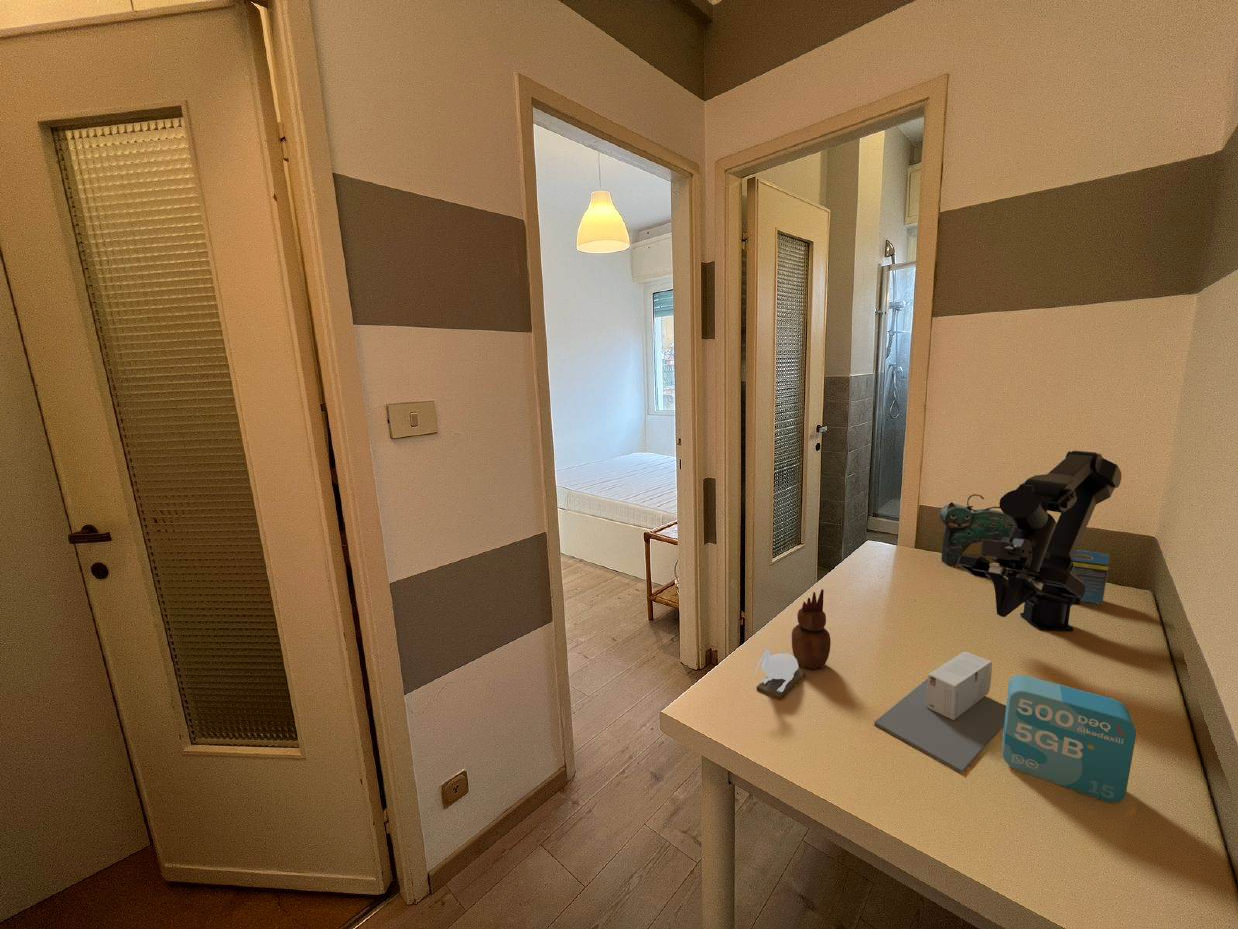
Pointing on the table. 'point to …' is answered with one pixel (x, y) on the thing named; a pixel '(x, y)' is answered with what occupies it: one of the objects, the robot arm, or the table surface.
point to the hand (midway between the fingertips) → (1000, 615)
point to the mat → (944, 728)
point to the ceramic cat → (970, 528)
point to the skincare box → (958, 684)
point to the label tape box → (1092, 574)
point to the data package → (1069, 737)
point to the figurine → (779, 674)
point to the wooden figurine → (811, 634)
